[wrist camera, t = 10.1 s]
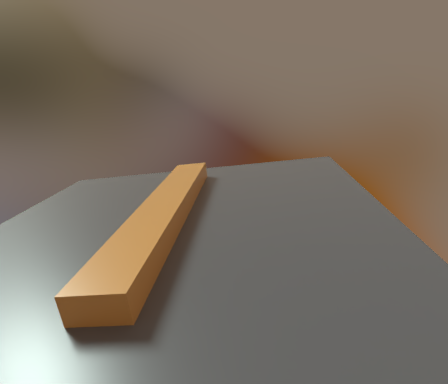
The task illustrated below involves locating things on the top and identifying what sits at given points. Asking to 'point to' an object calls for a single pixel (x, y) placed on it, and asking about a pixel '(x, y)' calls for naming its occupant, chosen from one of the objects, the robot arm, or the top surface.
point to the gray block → (220, 282)
